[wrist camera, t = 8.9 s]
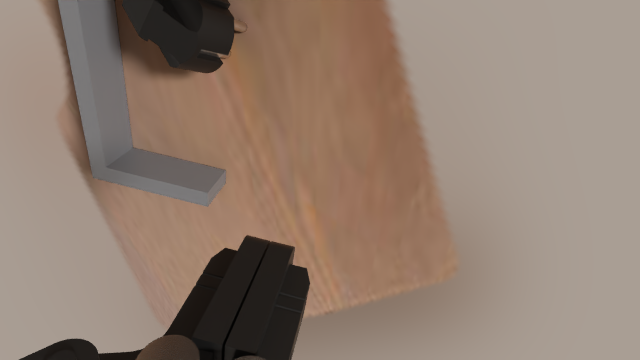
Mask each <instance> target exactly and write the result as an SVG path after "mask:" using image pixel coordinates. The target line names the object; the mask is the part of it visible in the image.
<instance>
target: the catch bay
mask: <svg viewBox="0 0 640 360" xmlns="http://www.w3.org/2000/svg"><path fill="white" fill-rule="evenodd" d="M58 4H59V9H60V14H61V19H62V24H63V29H64V34H65V39H66V44H67V49H68V54H69V59H70V64H71V70H72V75H73V80H74V85H75V90H76V95H77V100H78V105H79V110H80V115H81V120H82V125H83V130H84V135H85V140H86V145H87V150H88V155H89V160H90V165H91V170H92V175H93V178H96V179H100V180H104V181H108V182H112V183H116V184H120V185H123V186H127V187H131V188H135V189H139V190H143V191H147V192H151V193H155V194H159V195H163V196H167V197H171V198H175V199H179V200H183V201H187V202H191V203H195V204H199V205H203V206H207V207H208V206H209V204H210V203H211V202H212V200H213V199H214V198H215V196H216V195H217V194H218V192H219V191H220V190H221V189H222V187H223V186H224V185H225V183H226V170H223V169H219V168H215V167H211V166H207V165H202V164H198V163H194V162H190V161H186V160H182V159H178V158H174V157H169V156H165V155H161V154H157V153H153V152H149V151H145V150H141V149H136V148H133V145H132V137H131V129H130V121H129V113H128V104H127V96H126V88H125V80H124V72H123V64H122V56H121V48H120V40H119V32H118V24H117V16H116V8H115V0H58Z"/></svg>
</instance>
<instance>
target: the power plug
mask: <svg viewBox="0 0 640 360" xmlns="http://www.w3.org/2000/svg"><path fill="white" fill-rule="evenodd" d="M122 6H123V7H124V9H125V11H126V13H127V15H128V17H129V19H130V20H131V22H132V24H133V26H134V28H135V30H136V31H137V33H138V35H139V36H140V37H141V38H142V39H144V40H145V41H148V39H150V40H151V41H153V42H154V43H156V44H157V45H158V46H159V47H160V49H161V51H162V53H163V55H164V56H165V58H166V60H167V62H168V63H169V65H170V66H171V67H174V68H180V69H185V70H191V71H196V72H202V73H211V72H214V71H216V70H217V69H218V68H220V67H221V65H222V64H223V62H222V61H221V59H220V58H221V57H223V58H229V57H230V56H231V51H230V50H231V47H232V43H233V38H234V30H236V31H239V32H246V31H247V29H248V26H247V24H246V23H245V22H243V21H240V20H237V19H234V17H233V16H232V14H231V13H230V11H229V10H228V8H229V6H230V3H229V2H228V0H123V4H122Z"/></svg>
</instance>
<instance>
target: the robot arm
mask: <svg viewBox="0 0 640 360" xmlns="http://www.w3.org/2000/svg"><path fill="white" fill-rule="evenodd" d="M294 251H295V247H293V246H289V245H285V244H281V243H277V242H273V241H272V242H270V241H268V240H264V239H260V238H256V237H252V236H248V235H247V236H246V237H245V238H244V240H243V242H242V244H241V246H240V247H239V249H238V251H236V250H232V249H228V248H224V249H223V250H222V251H220V252H219V253H218V254H216V255H215V256H214V257H212V258H211V260H210V261H209V263H208V265H207V266H206V268H205V270H204V271H203V274H202V275H201V276H200V278H199V279H198V281H197V283H196V286H194V288H193V289H192V291H191V293H190V294H189V296H188V298H187V299H186V301H185V303H184V304H183V306H182V308H181V309H180V311H179V313H178V314H177V316H176V318H175V319H174V321H173V322H172V324H171V326H170V327H169V329H168V330H167V332H166V333H165V334H164V335H163V336H162V337H160V338H158V339H156V340H154V341H152V342H151V343H149V344H148V345H147V346H146V347H145V348H144V349H141V350H137V351H133V352H121V353H104V354H103V353H102V354H98V351H97V349H96V347H95V346H94V345H93V344H92V343H90V342H89V341H86V340H83V339H67V340H63V341H60V342H57V343H54V344H52V345H50V346H48V347H46V348H44V349H41V350H39V351H37V352H35V353H32V354H30V355H28V356H26V357H24V358H21V359H19V360H291V359H292V355H293V352H294V348H295V344H296V340H297V337H298V333H299V329H300V326H301V322H302V318H303V314H304V310H305V305H306V300H307V295H308V290H309V286H310V281H309V277H308V272H307V268H303V267H299V266H295V265H292V264H293V258H294Z"/></svg>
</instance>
